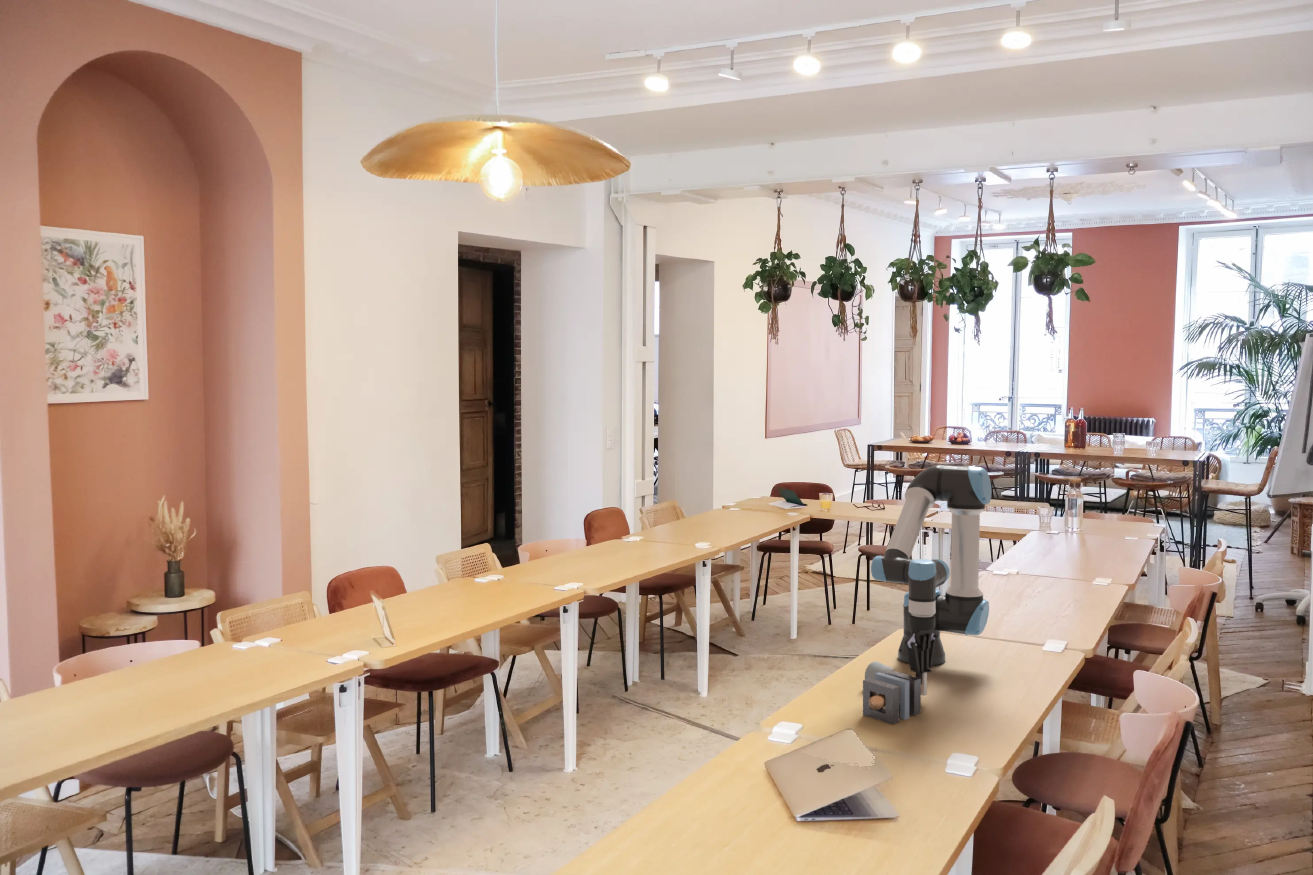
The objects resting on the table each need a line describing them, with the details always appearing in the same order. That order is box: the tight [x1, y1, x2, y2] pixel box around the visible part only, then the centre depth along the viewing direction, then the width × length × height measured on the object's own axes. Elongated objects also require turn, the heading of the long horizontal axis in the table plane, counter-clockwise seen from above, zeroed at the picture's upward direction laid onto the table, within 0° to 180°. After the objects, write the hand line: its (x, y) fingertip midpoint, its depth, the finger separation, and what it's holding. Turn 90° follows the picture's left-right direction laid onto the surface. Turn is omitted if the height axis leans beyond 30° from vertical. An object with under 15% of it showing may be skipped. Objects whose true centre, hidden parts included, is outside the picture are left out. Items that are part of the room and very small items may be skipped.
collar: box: [862, 678, 900, 725], centre depth 271 cm, size 3×10×10 cm, turn 40°
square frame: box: [885, 670, 922, 717], centre depth 277 cm, size 3×10×10 cm, turn 40°
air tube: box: [869, 685, 922, 710], centre depth 275 cm, size 20×4×4 cm, turn 130°
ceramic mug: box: [864, 660, 898, 680], centre depth 296 cm, size 11×8×8 cm
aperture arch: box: [875, 672, 910, 721], centre depth 274 cm, size 2×10×11 cm, turn 40°
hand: (921, 693), depth 283 cm, fingers closed
